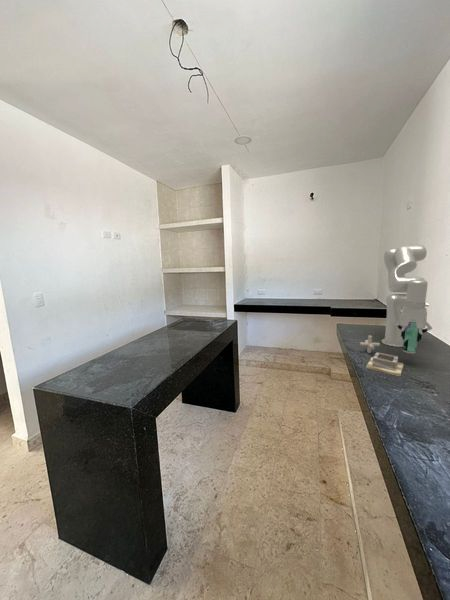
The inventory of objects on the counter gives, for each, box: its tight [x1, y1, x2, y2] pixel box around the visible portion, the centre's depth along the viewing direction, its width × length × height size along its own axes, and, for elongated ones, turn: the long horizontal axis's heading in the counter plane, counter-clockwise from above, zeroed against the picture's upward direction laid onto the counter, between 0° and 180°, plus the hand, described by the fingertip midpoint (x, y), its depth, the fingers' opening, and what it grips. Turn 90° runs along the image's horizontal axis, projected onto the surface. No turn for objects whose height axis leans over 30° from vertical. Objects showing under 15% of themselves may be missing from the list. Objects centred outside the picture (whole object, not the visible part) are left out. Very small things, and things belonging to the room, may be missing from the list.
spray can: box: [402, 319, 419, 354], centre depth 122 cm, size 6×6×20 cm
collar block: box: [365, 352, 405, 377], centre depth 122 cm, size 14×14×5 cm
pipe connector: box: [359, 334, 381, 354], centre depth 140 cm, size 10×10×10 cm
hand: (410, 339), depth 123 cm, fingers closed on spray can, 5 cm apart
